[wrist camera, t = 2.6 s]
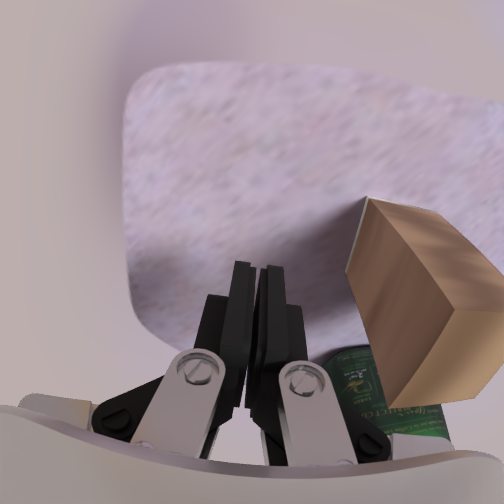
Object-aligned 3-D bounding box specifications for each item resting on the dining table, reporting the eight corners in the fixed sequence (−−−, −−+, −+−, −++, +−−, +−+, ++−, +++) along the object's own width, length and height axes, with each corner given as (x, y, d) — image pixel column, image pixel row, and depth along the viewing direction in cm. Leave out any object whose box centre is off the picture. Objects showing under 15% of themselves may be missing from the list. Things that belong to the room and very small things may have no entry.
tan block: (436, 212, 16) (536, 313, 7) (411, 279, 18) (474, 398, 10) (366, 195, 16) (454, 309, 7) (344, 271, 18) (388, 408, 10)
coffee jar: (308, 399, 25) (315, 591, 9) (321, 341, 21) (344, 601, 5) (403, 391, 25) (440, 559, 8) (433, 334, 21) (504, 540, 4)
